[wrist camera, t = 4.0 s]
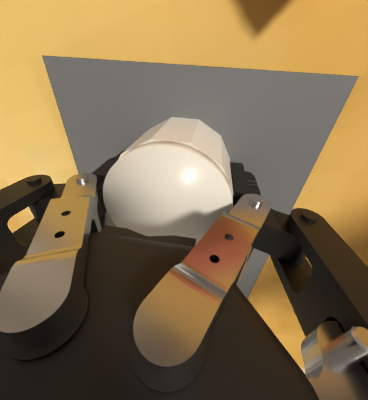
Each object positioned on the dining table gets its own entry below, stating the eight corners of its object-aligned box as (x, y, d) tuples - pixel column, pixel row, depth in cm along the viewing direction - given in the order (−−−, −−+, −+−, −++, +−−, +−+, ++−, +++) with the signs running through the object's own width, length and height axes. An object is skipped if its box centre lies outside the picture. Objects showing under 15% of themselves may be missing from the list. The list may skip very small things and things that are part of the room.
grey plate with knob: (61, 56, 11) (-121, 44, 5) (341, 75, 10) (536, 87, 4) (119, 279, 25) (88, 345, 19) (239, 300, 24) (245, 378, 18)
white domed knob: (135, 113, 11) (88, 139, 7) (237, 123, 11) (249, 157, 7) (143, 196, 15) (114, 245, 11) (220, 206, 14) (220, 262, 10)
